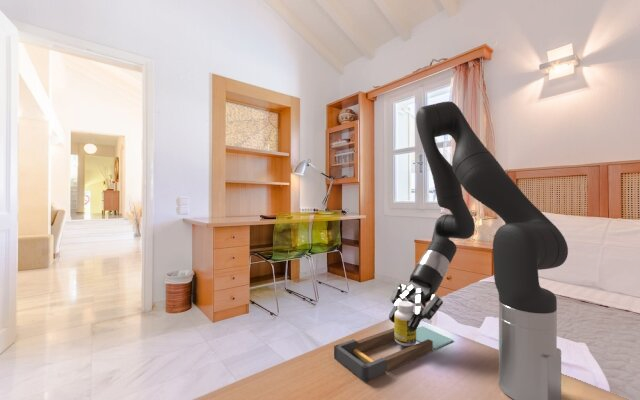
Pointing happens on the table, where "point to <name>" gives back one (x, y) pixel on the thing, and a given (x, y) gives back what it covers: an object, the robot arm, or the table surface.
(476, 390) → the table surface
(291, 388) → the table surface
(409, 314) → the supplement bottle
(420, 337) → the pad
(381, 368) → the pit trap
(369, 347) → the chute
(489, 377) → the table surface
